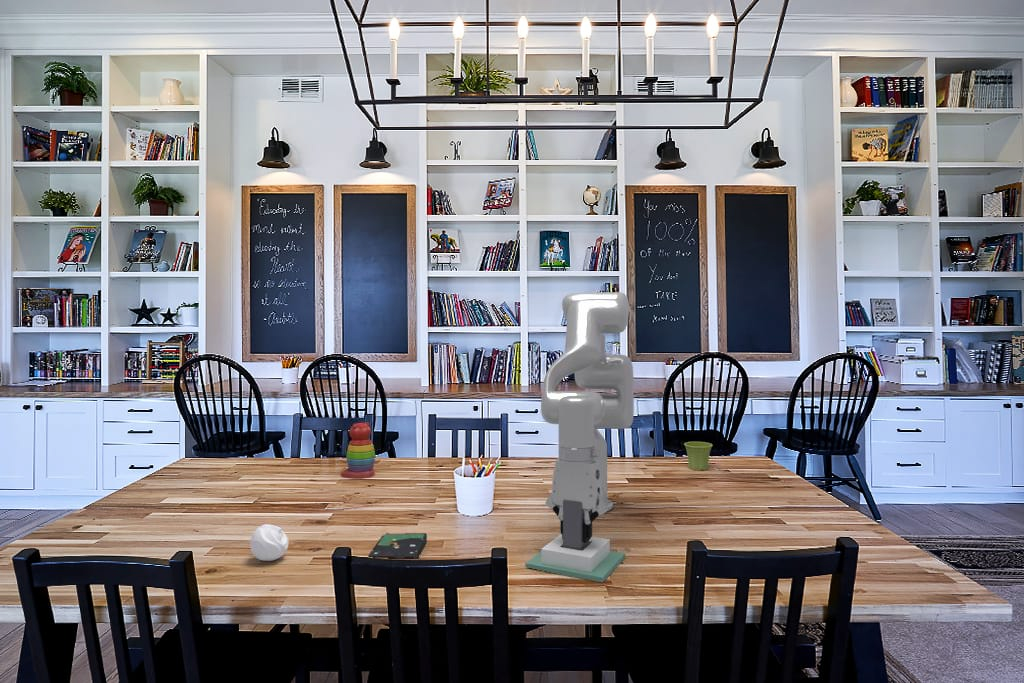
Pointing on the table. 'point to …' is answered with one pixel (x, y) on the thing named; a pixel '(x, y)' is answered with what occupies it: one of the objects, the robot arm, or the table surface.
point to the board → (581, 574)
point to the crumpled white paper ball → (268, 542)
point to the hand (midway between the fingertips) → (576, 538)
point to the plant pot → (698, 455)
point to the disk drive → (399, 546)
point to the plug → (573, 525)
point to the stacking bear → (360, 453)
